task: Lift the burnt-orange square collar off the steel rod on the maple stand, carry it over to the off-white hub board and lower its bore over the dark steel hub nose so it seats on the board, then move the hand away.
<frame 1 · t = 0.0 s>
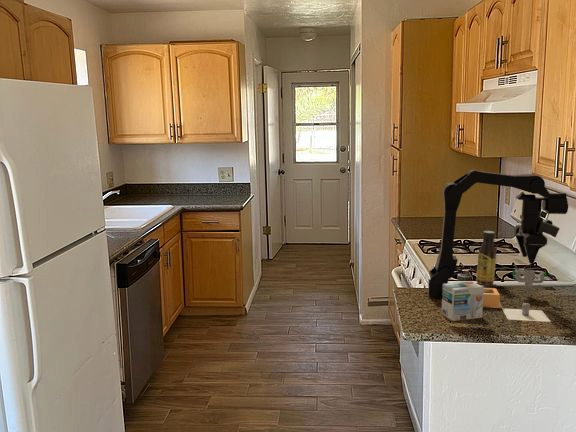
hand: (528, 260, 181), 15 cm above the countertop, tool pointing down, fingers open, 9 cm apart
collar: (485, 302, 181), point 1 cm above the countertop, touching stand
sauce bottle: (485, 284, 205), on the countertop
light bulb box: (461, 319, 169), on the countertop
hub board: (525, 317, 169), on the countertop
stand: (485, 305, 181), on the countertop
mechanical component: (527, 299, 187), on the countertop
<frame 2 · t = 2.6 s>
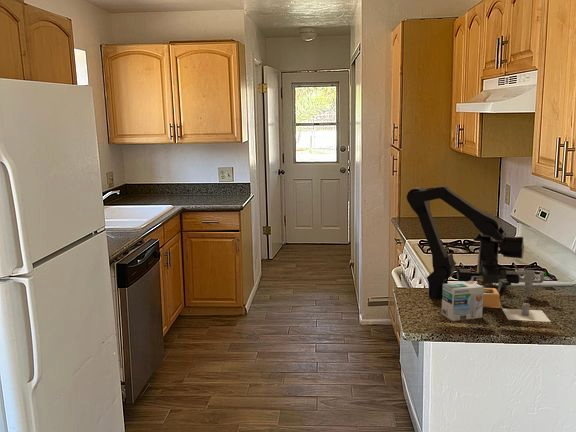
hand: (485, 301, 181), 2 cm above the countertop, tool pointing down, fingers closed on collar, 7 cm apart
collar: (485, 302, 181), point 1 cm above the countertop, touching gripper, stand
everything else where it was.
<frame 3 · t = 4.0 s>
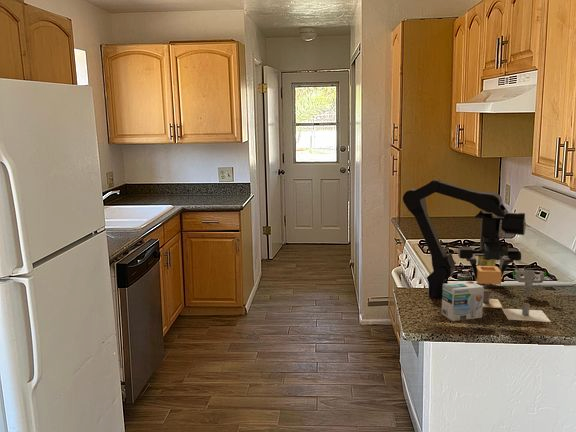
hand: (487, 279, 179), 9 cm above the countertop, tool pointing down, fingers closed on collar, 7 cm apart
collar: (487, 280, 179), point 9 cm above the countertop, touching gripper
everything else where it was.
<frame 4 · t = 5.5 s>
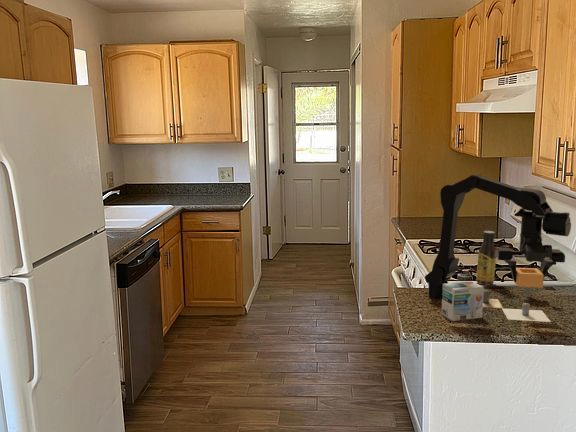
hand: (527, 282, 168), 11 cm above the countertop, tool pointing down, fingers closed on collar, 7 cm apart
collar: (527, 283, 168), point 11 cm above the countertop, touching gripper
everything else where it was.
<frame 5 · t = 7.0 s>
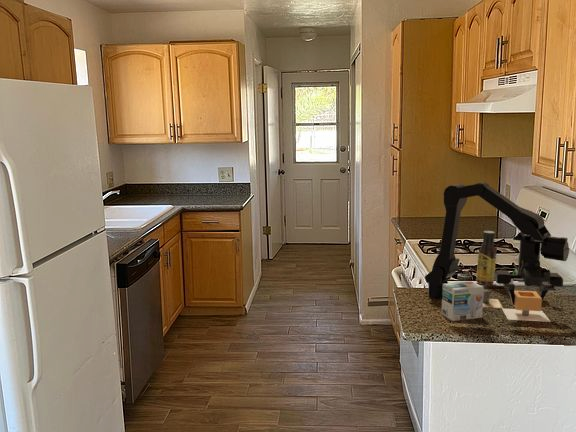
hand: (525, 305, 169), 4 cm above the countertop, tool pointing down, fingers closed on collar, 7 cm apart
collar: (525, 306, 169), point 4 cm above the countertop, touching gripper
everything else where it was.
when the fingers open (3 cm above the countertop, at t = 8.3 s): collar drops 2 cm, resting on hub board.
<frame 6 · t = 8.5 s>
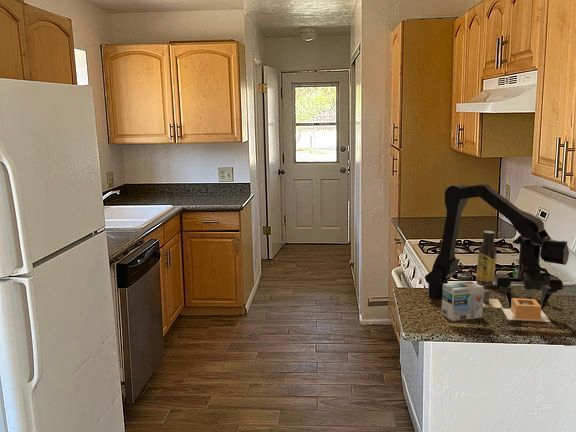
hand: (525, 308, 169), 3 cm above the countertop, tool pointing down, fingers open, 9 cm apart
collar: (525, 314, 169), point 1 cm above the countertop, touching hub board
everything else where it was.
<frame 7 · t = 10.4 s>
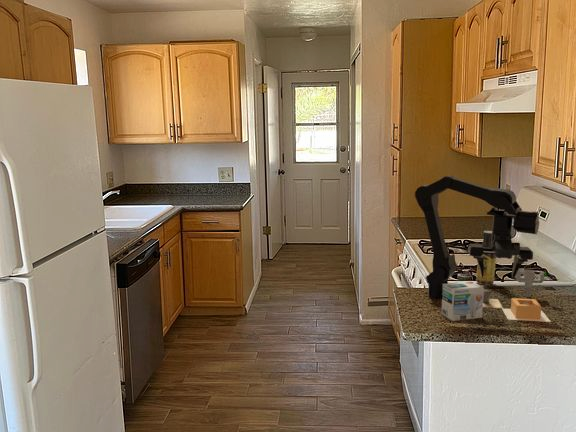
hand: (497, 277, 176), 10 cm above the countertop, tool pointing down, fingers open, 9 cm apart
nothing on the countertop moved.
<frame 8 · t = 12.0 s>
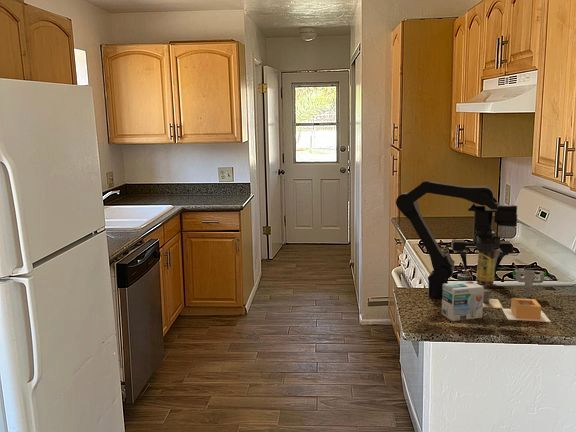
hand: (480, 271, 181), 11 cm above the countertop, tool pointing down, fingers open, 9 cm apart
nothing on the countertop moved.
at the end: collar 0.1 cm off-centre on the hub board, point 1.0 cm above the hub board's base; collar tilted 0°; the gripper is holding nothing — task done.
